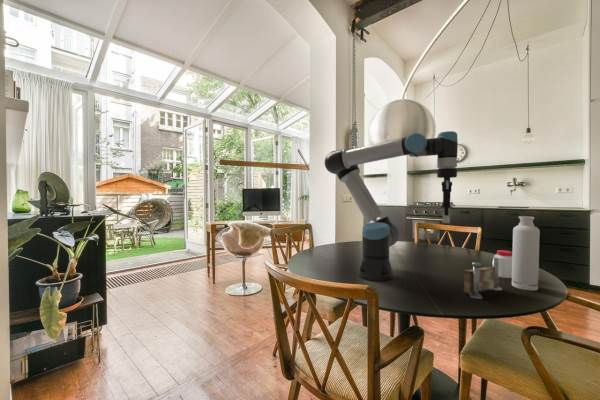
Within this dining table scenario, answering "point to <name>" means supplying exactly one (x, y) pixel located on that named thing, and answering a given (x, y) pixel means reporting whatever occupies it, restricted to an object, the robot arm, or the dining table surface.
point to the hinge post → (496, 274)
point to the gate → (484, 279)
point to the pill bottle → (504, 263)
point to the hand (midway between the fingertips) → (446, 222)
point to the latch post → (476, 281)
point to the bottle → (525, 254)
